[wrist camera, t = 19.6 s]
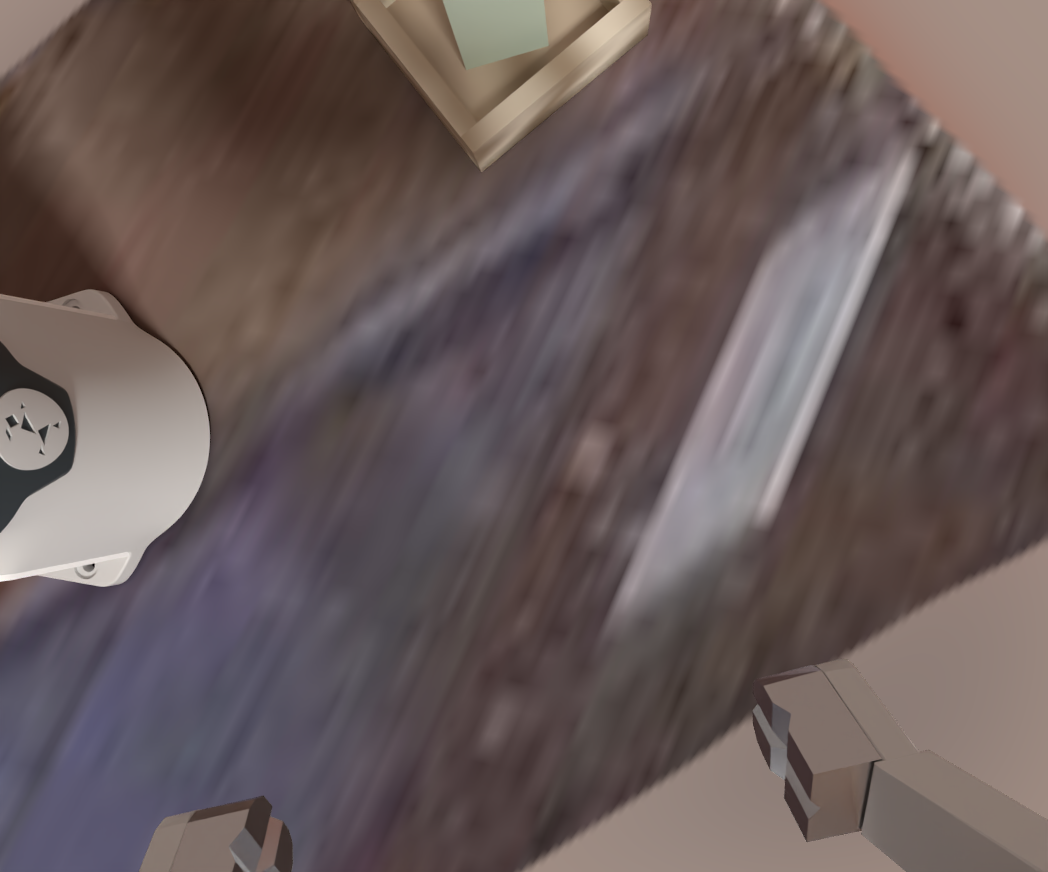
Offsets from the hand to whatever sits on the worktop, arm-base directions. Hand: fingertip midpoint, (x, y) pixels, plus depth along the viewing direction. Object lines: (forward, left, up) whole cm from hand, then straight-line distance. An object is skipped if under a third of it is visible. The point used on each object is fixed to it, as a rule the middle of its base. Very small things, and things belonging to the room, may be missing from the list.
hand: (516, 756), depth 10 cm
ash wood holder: (-2, +30, -26) cm, 40 cm away
